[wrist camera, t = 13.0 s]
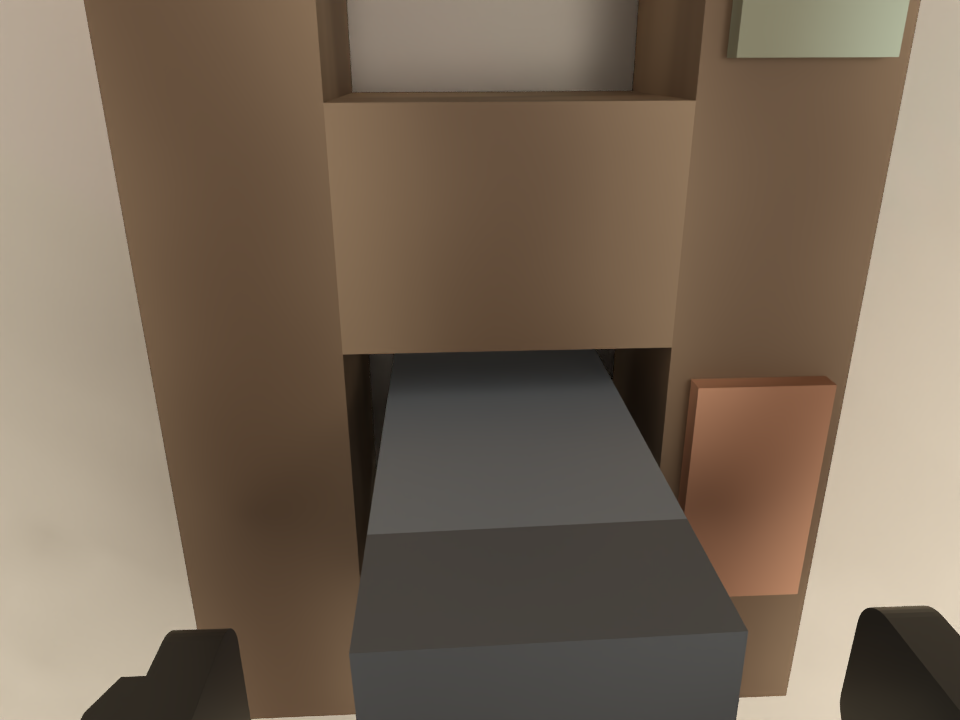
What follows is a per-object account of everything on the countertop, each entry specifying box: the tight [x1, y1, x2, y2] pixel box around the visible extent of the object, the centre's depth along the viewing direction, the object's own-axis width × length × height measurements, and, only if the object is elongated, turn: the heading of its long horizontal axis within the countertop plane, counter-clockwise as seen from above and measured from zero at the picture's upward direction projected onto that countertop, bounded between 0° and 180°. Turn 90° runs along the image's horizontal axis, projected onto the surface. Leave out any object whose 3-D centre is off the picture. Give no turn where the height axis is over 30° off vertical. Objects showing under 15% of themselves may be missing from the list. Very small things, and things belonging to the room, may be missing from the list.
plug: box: [349, 349, 748, 720], centre depth 13 cm, size 4×4×10 cm
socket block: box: [84, 0, 921, 719], centre depth 14 cm, size 12×20×4 cm, turn 0°
